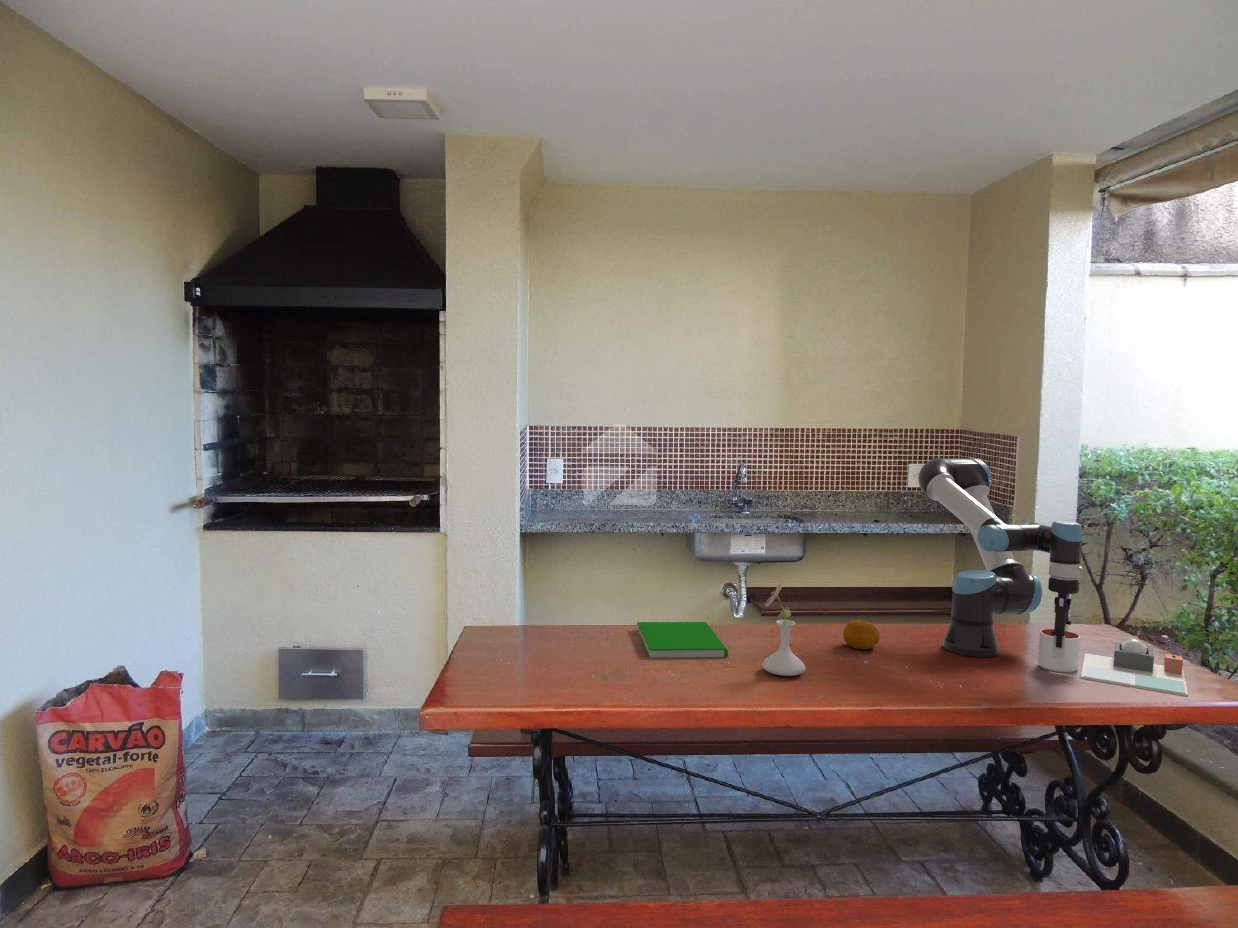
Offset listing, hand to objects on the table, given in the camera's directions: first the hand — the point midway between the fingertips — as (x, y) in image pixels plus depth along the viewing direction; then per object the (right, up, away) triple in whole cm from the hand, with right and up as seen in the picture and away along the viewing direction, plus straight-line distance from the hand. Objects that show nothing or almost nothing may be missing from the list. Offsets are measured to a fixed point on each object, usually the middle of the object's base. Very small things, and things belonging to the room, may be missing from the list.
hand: (1059, 653), depth 235 cm
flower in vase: (-79, -4, -9) cm, 80 cm away
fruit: (-51, -2, +17) cm, 53 cm away
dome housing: (+23, -4, +4) cm, 24 cm away
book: (-105, -1, +16) cm, 106 cm away
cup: (0, -5, +1) cm, 5 cm away
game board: (+19, -5, -2) cm, 20 cm away
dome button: (+23, -3, +4) cm, 24 cm away
